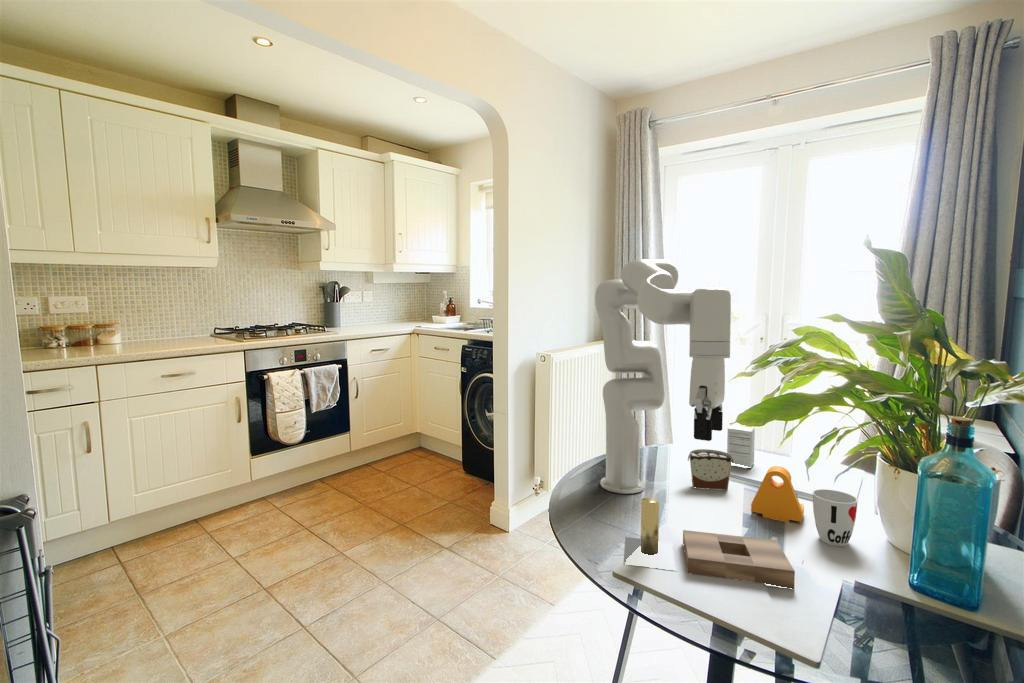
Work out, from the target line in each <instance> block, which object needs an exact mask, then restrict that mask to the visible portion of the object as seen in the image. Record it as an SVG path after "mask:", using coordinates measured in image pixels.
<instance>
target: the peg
mask: <svg viewBox="0 0 1024 683" xmlns="http://www.w3.org/2000/svg"><path fill="white" fill-rule="evenodd" d="M659 520H660V501H659V500H658V499H656V498H653V497H644V498H641V499H640V539H641V552H642V553H644V554H648V555H654V554H657V553H658V541H659V533H660V532H659V530H660V528H659V527H660V526H659V524H660V523H659V522H660V521H659Z"/></svg>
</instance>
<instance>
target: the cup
mask: <svg viewBox="0 0 1024 683" xmlns="http://www.w3.org/2000/svg"><path fill="white" fill-rule="evenodd" d="M812 508H813V516H814V522H815V528H816V531H817V533H818V537H819V540H821V541H822V542H823V543H825V544H828V545H830V546H835V547H845V546H844V545H846V546H847V545H848V543H849V542H850V540H851V537H852V535H853V532H854V527H855V523H856V520H857V511H858V510H857V509H858V498H857V497H855V496H854V495H852V494H850V493H846V492H843V491H840V490H839V491H838V490H834V489H826V488H822V489H821V488H820V489H815V490H813V491H812Z"/></svg>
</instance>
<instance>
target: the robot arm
mask: <svg viewBox="0 0 1024 683" xmlns="http://www.w3.org/2000/svg"><path fill="white" fill-rule="evenodd" d="M620 273H621V274H620V278H617V279H616V278H615V279H607V280H604V281H602V282H600V283H599V284H598V285H597V287H596V289H595V295H594V305H595V308H596V313H597V316H598V318H599V322H600V325H601V328H602V339H603V350H604V351H603V352H604V360H605V361H604V362H605V366H606V368H607V371H608V372H611V373H613V374H640V376H641V377H619V378H612V379H610V380H608V381H606V382H605V384H604V385H603V387H602V398H603V405H604V411H605V412H604V413H605V476H604V477H602V478H601V479H600V486H601V488H602V489H604V490H606V491H609V492H613V493H617V494H627V495H629V494H631V495H632V494H637V493H641V492H643V491H644V490H645V489H646V484H645V482H644V481H643V480H642V479H640V460H641V457H640V453H641V452H640V447H641V444H640V442H641V440H640V438H641V431H640V430H641V428H640V425H639V422H638V420H637V419H636V418H635V416H633V413H632V412H638V411H640V412H642V411H653V410H658V409H660V408H661V407H662V406H663V405H664V403H665V402H664V401H665V383H664V374H663V365H662V356H661V352H660V350H659V347H658V346H657V345H656V343H654V341H653V342H652V341H650V340H635V339H634V334H633V327H632V324H631V321H630V320H629V319H628V317H627V316H626V315H625V314H624V313H623V312H622V311H621V309H622V310H623V309H625V310H639V312H640V314H642V316H644V317H645V318H646V319H648V320H650V321H651V322H653V323H654V324H658V325H665V326H667V325H669V326H670V325H687V326H688V325H689V350H688V351H689V358H692V361H691V368H690V380H689V381H690V382H689V399H688V400H689V402H688V403H689V406H690V407H691V408H694V407H695V408H694V409H693V410H694V414H693V439H695V440H698V441H707V442H711V441H712V439H713V431H718V432H721V431H723V418H724V416H723V404H722V403H724V400H725V392H726V390H725V388H726V378H725V377H726V376H725V375H726V371H725V368H726V366H725V359H729V358H731V320H732V319H731V317H732V316H731V314H732V313H731V312H732V310H731V309H732V306H731V304H732V299H731V298H732V295H731V292H730V291H729V290H728V289H727V288H725V287H700V288H696V289H687V288H686V289H683V288H682V289H681V288H679V289H677V288H675V287H677V284H678V280H679V271H678V268H677V266H676V265H675V264H674V262H672V261H671V260H668V259H650V258H649V259H647V258H646V259H645V258H643V259H641V258H640V259H634V260H631V261H628V262H627V263H626V264H624V266H623V267H622V270H621V272H620Z"/></svg>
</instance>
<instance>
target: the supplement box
mask: <svg viewBox="0 0 1024 683" xmlns="http://www.w3.org/2000/svg"><path fill="white" fill-rule="evenodd" d="M739 425H740V424H734V425H733V426H730V425H729V426H728V428H727V438H726V439H727V440H726V441H727V443H726V444H727V445H726V446H727V448H726V453H728V454H730V455H732V458H733V461H734V463H735V464H740V465H744V466H748V467H752V465H753V463H754V464H755V434H756V433H755V431H756V430H755V428H744V427H741V426H739ZM732 463H733V462H732ZM753 466H754V465H753ZM752 468H753V467H752Z"/></svg>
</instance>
